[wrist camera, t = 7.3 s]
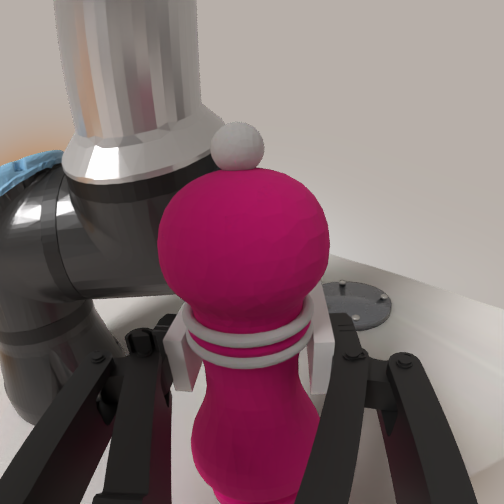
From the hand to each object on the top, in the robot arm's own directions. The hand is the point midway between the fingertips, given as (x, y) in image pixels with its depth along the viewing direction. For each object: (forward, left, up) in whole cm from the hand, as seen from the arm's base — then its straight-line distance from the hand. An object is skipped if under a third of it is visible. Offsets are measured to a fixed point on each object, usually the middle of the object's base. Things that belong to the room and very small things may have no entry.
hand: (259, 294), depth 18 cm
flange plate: (+10, +23, -14) cm, 28 cm away
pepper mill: (0, -5, -11) cm, 12 cm away
